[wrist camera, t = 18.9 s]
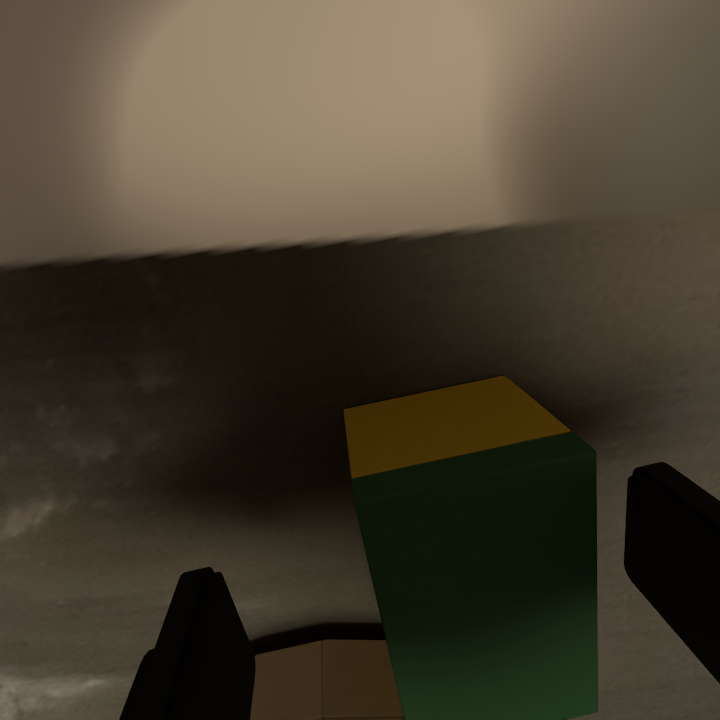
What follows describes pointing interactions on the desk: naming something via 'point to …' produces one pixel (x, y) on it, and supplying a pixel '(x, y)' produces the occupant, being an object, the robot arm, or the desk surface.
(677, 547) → the robot arm
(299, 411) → the desk surface
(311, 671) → the wash bowl
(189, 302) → the desk surface
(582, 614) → the sponge
